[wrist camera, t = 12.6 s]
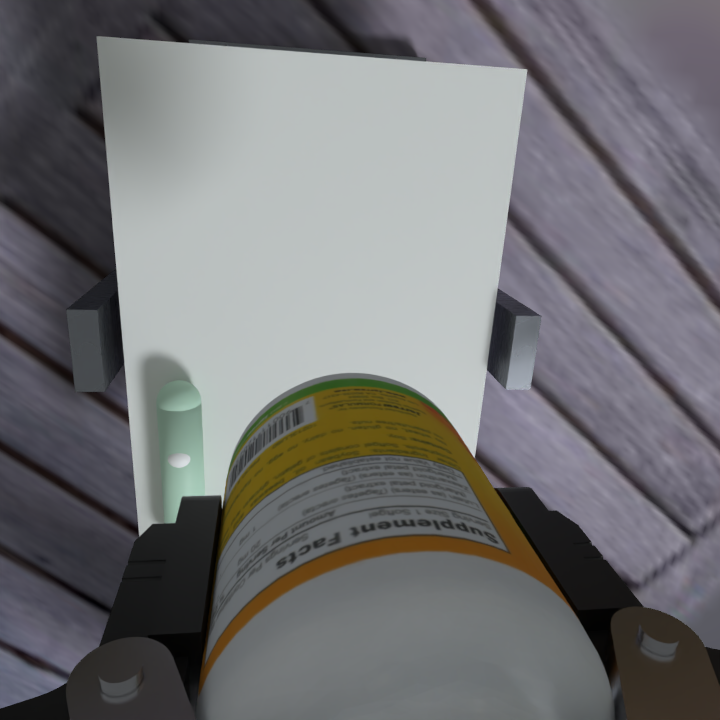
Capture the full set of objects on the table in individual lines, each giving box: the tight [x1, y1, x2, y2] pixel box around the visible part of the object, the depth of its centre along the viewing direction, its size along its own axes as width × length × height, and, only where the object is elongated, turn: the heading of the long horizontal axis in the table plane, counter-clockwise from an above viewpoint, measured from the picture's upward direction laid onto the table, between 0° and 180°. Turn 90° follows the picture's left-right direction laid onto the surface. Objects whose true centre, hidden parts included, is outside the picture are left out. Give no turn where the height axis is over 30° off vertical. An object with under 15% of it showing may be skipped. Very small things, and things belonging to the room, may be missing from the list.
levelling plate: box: [97, 36, 527, 537], centre depth 23 cm, size 20×14×3 cm
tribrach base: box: [66, 39, 542, 392], centre depth 26 cm, size 22×17×8 cm
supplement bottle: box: [195, 373, 615, 720], centre depth 9 cm, size 5×5×10 cm
